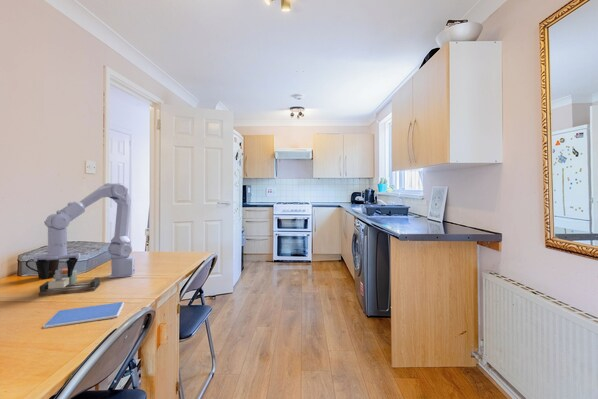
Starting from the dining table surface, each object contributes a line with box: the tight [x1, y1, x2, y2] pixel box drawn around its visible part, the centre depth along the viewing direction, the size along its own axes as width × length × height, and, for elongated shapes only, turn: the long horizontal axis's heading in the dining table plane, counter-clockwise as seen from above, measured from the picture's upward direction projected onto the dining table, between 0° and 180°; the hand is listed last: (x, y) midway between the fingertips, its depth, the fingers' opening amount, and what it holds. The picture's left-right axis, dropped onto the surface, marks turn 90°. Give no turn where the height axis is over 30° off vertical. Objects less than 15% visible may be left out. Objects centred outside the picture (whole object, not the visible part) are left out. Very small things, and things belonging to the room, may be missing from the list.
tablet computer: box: [42, 301, 125, 329], centre depth 93 cm, size 19×13×1 cm, turn 113°
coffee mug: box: [25, 253, 60, 280], centre depth 131 cm, size 12×9×10 cm
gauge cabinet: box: [53, 269, 78, 285], centre depth 121 cm, size 6×6×5 cm
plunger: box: [60, 268, 68, 274], centre depth 121 cm, size 3×3×4 cm
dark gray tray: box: [37, 276, 101, 297], centre depth 115 cm, size 18×8×4 cm, turn 111°
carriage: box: [48, 269, 69, 289], centre depth 113 cm, size 5×5×6 cm
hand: (58, 277), depth 113 cm, fingers open, 7 cm apart
